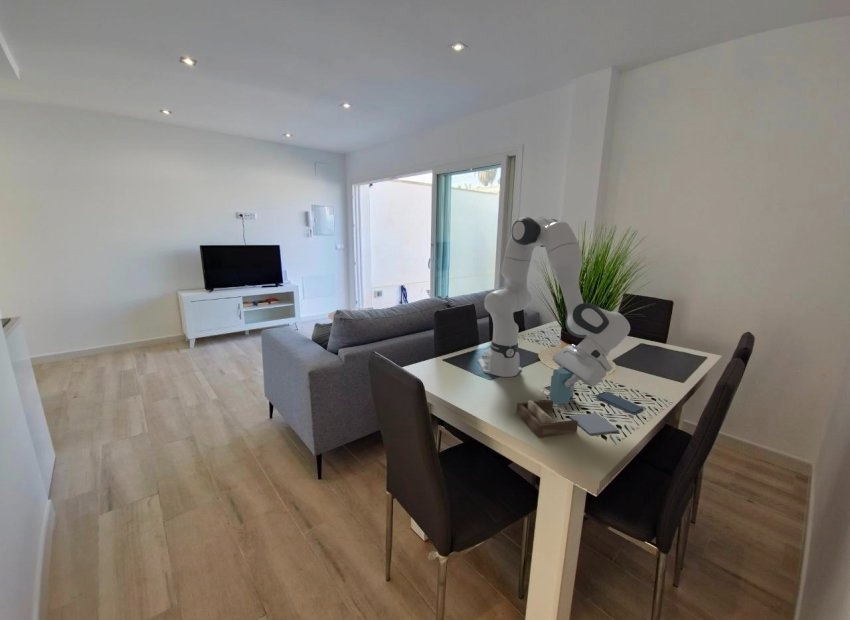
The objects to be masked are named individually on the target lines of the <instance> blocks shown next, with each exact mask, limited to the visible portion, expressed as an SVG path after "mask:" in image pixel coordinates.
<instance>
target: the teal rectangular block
mask: <svg viewBox="0 0 850 620" xmlns="http://www.w3.org/2000/svg"><path fill="white" fill-rule="evenodd" d="M552 372H553V373H552V376H553V379H552V387H551V395H550V394H549V400H551V401H552V402H553V404H555V405H562V404H570V399H571V398H570V392H571V385H572V384H571V385H570V386H569V387H566V386H565V385H564V384H563V381H564V380H565V379H567V380H568V379H570V378H572V375H573V373H572V372H571V371H569V370H568V369H558V368H556V369H553V371H552Z"/></svg>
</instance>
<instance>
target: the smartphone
mask: <svg viewBox="0 0 850 620" xmlns="http://www.w3.org/2000/svg"><path fill="white" fill-rule="evenodd" d="M595 398H596V399H597V400H600V401H601V402H604V403H607V404H608V405H611V406H613V407H614V408H617V409H620V410H622V411H623V412H626V413H629V414H630V413H631V414H630V415H637V414H638V413H641V412H642V411H644V408H643V407H642V406H641V405H639V404H638V405H637V404H636V403H633V402H631V401H629V400H627V399H625V398H622V397H620V396H618V395H615V394H613V393H611V392H609V391H603V392H601V393H598V394H596V396H595Z"/></svg>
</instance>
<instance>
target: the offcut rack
mask: <svg viewBox="0 0 850 620" xmlns="http://www.w3.org/2000/svg"><path fill="white" fill-rule="evenodd" d="M532 401H533V400H532ZM533 402H534V403H535V404H536V405H538V406H539V407H540V408H541V409H542V410H543V411H544V412H545V413H550V412H553V409H554V408H553V407H554V402H552V401H551V400H550V399H547V400H545V399H544V400H536V401H533ZM527 408H528V401H525V402H517V403H516V412H515V413H516V415H517V416H518V417H519V418H520V419H521V420H522V421H523V422H524V423H525V424H526V426H527V427H529V429H530V430H531V432H533V434H535V435H536V436H537V438H544V437H554V436H562V435H570V434H578V433H577V432H578V427H579V426H578V421H576V420H571V419H570V420H564V421H563V420H562V421H555V422H554V421H553V422H551V423H544V424H541V423H540V422H539V421H538V420H537V419H536V418H535V417H534V416H533V415H532V414H531V413H530V412H529V411H528V410H527Z"/></svg>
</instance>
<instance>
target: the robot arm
mask: <svg viewBox="0 0 850 620" xmlns="http://www.w3.org/2000/svg"><path fill="white" fill-rule="evenodd" d="M536 247H541V248H543V247H544V248H545V250H546V254H547V258H548V260H549V263H550V265H551V268H552V270H553V272H554V274H555V277H556V280H557V282H558V284H559V288H560V291H561V294H562V299H563V302H564V306H565V308H566V318H565V328H566V329H567V332H568V333H569V334H570V335H571V336H573V337H576V338H579V339H581V338H583V339H582V340H581V341H580V342H579V343H578V344H577V345H575V344H573V343H572V344H567V345H566V346H565V345H564V347H562V348H560V349H559V350H558V351H556V353H554V355H553V356H552V359H551V360H552V361H553V362H554V363H555V364H556V365H557V366H558V367H557V369H568V370H569V371H571V372H572V373H573V375H572V378H570V379H568V380H567V379H565V380H564V381H563V384H564V385H565V386H566V387H569V386H570V385H571V384H573V383H575V384H576V383H578V382H579V381H581V382H582V383H584V384H586V385H587V386H589V387H590V388H591V387H596V386H598V384H600V382H601V381H602V380H603V379H604V378H605V377H606V376H607V373H608V372H611V371H612V369H613V366H612V364H611V363H610V362H609V360H608V359H607V357H608V356H609V354H610V352H611V351H612V350H614V349H615V348H617V347H618V346H619V345H620V344H621V343H622V342H623V340H625V339H626V338H627V336H628V335H629V334H630V331H631V324H630V322H629V320H628V319H627V318H626V316H624V314H621V313H620V312H618V311H610V310H607V309H603V308H602V307H599V306H597V305H595V304H593V303H591V302H584V300H583V296H582V293H581V290H580V276H581V275H580V274H581V271H582V266H583V255H582V250H581V247H580V245H579V242H578V239H577V236H576V235H575V233H574V231H573V229H572V227H571V226H570V224H569V223H567V222H566V221H563V220H562V221H561V220H558V219H555V218H547V217H543V216H542V217H541V216H538V217H535V216H534V217H529V216H525V217H519V218H518V219H516V220H515V221H514V222H513V224H512V227H511V235H510V237H509V240H508V242H507V244H506V248H505V252H504V257H503V262H502V266H501V272H500V273H501V276H502V277H503V278H504V282H505V283H504V284H505V286H504V288H501V289H500V288H499V289H495V290H493V291H491V292H489V293H487V294H486V296H485V298H484V300H483V301H484V302H483V303H484V309H485V310H486V311H487V312H488V313H489V314H490V317H491V319H492V323H493V324H492V325H493V326H492V327H493V329H492V331H493V332H492V339H491V340H490V347H488V348H487V349H486V350H484V351H483V354H482V356H481V358H479V359H478V361H477V362H478V363H479V366H480V368H481V370H482V372H483V373H485V374H489V375H490V374H491V375H494V376H496V377H503V378H509V377H515V376H517V375H518V374H519V373H520V372H521V371H522V367H521V366H520V353H519V352H518V351H519V343H518V340H519V329H520V328H519V325H518V324H517V323H516V322H515V320H514V319H515V318H514V313H515V312H520V311H522V310H525V309H526V308H527V307H529V306H530V304H531V301H532V294H531V293H530V291H529V289H528V274H529V269H530V265H531V260H532V256H533V252H534V250H535V248H536Z"/></svg>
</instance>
